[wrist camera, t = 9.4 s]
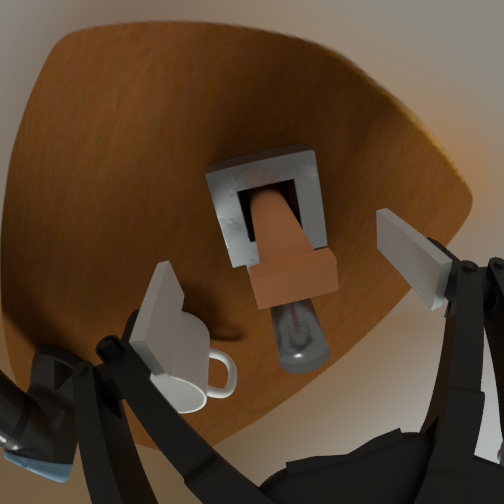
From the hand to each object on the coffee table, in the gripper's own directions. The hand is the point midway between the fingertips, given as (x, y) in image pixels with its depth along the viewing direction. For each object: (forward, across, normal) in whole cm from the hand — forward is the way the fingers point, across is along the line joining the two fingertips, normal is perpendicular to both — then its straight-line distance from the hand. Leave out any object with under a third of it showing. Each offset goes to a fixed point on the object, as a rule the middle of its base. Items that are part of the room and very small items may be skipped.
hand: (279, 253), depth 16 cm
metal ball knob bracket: (+11, +1, -4) cm, 12 cm away
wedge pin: (+11, 0, 0) cm, 11 cm away
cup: (+12, -12, -16) cm, 23 cm away
